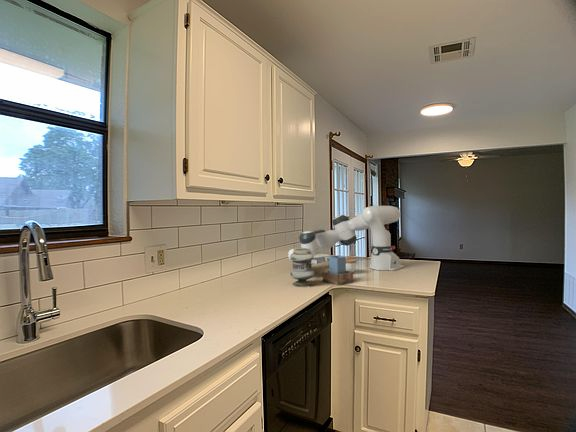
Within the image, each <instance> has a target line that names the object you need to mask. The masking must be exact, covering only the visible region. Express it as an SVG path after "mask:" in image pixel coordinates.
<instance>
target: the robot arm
mask: <svg viewBox="0 0 576 432" xmlns="http://www.w3.org/2000/svg"><path fill="white" fill-rule="evenodd" d="M400 218H401V212H400V209H399V208H398V207H396V206H392V205H371V206H367V207H364V208H363V210H362V212H361V213H359V214H356V215H355V216H354V217H353V218H350V216H347V215H344V214H340V215H337V216H335V217H334V218H333V219H332V222H331V223H332V226H333V228H334V229H330V230H325V229H315V230H307V231H303V232H301V233H300V235H299V237H298V239H299V243H300V247H301V248H308V249H310V252H311V253H312V254H313V256H314V258H313V260H311V265H314V264H315V265H317V264H321V263H326V262H327V263H329V257H331V255H330V254H325V253H319V250H318V246H319V248H321V249H323V250H328V249H330V248H332V247H334V246H335V245H336V244H337V243H339V245H343V246H352V245H354V244H355V243H356V242H357V240H358V238H357V235H356V233H355V232H356V231H357V232H359V231H360V232H361V231H365V230H368V229H370V232H371V244H372V245H371V247H370V248H371V254H370V261H369V265H368V267H369V269H372V270H377V271H396V270H399V269H402V268H404V267H405V266H404V265H403V264H401V263H400V257H399V256H398V255H397V254H396V253H395V252H393V250H395V249H396V245H391V244H392V242H391V240H392V239H391V235H392V234H391V233H390V231H389V230H387V229H386V228H385V225H388V224H392V223H395V222H398V221H399V220H400ZM294 249H295V248H290V250H289V251H288V252H287V256H288V257H287V258H288V261H290V262H292V263H293V261H292V260H291V258H290V256H291V254H293V250H294Z"/></svg>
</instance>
